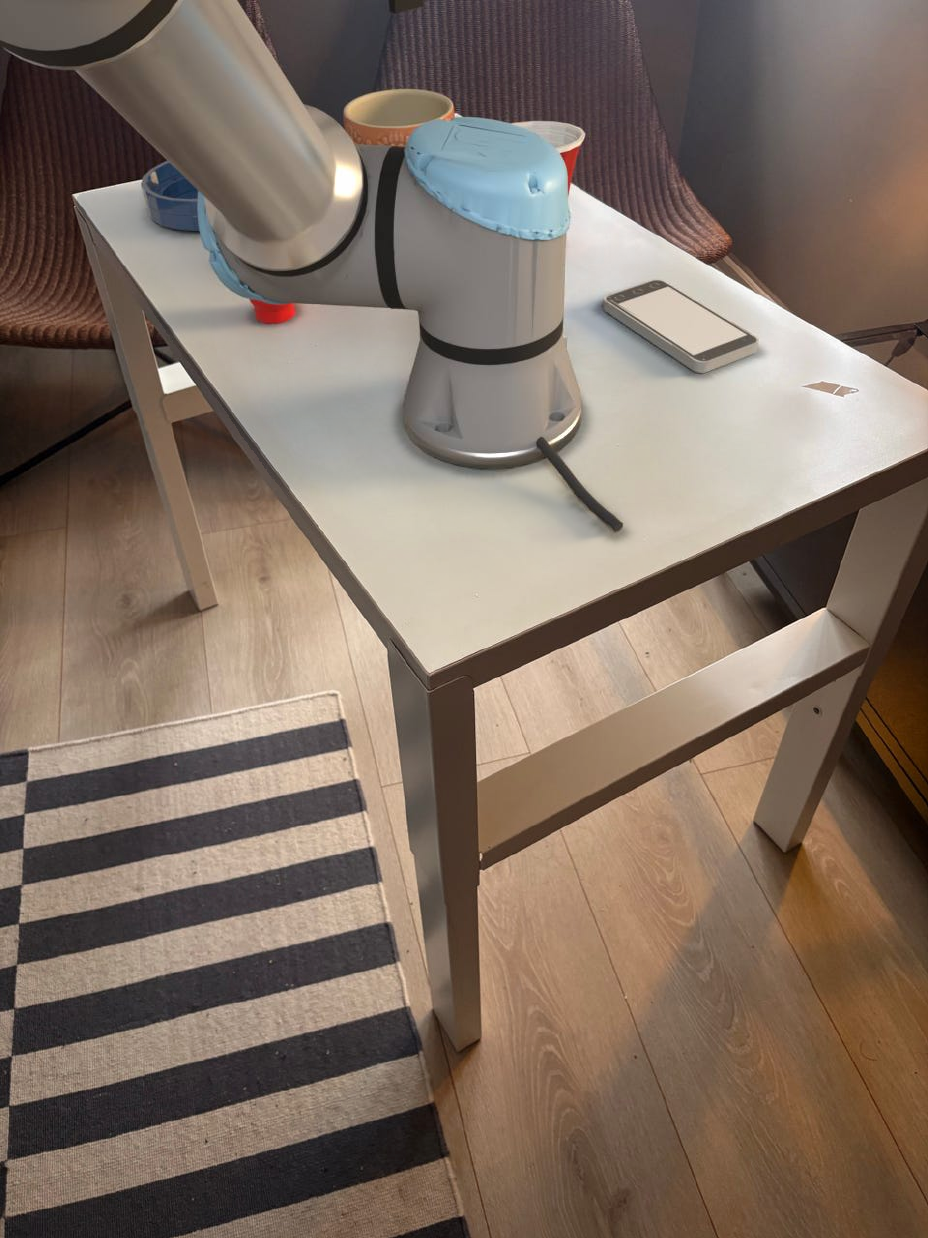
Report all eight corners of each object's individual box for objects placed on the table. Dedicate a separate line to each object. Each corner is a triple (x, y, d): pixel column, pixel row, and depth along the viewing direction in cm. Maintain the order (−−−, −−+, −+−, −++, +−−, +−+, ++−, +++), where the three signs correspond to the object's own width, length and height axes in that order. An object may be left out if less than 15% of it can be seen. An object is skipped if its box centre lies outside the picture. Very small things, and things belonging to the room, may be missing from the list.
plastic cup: (557, 218, 116) (561, 106, 107) (595, 257, 108) (602, 141, 100) (467, 234, 114) (464, 121, 105) (500, 275, 106) (499, 158, 98)
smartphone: (659, 277, 102) (762, 340, 93) (658, 287, 103) (760, 350, 94) (600, 297, 100) (700, 364, 90) (599, 307, 100) (699, 374, 91)
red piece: (299, 323, 100) (274, 169, 90) (251, 327, 100) (220, 173, 90) (299, 300, 104) (275, 149, 93) (252, 304, 104) (223, 153, 93)
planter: (339, 224, 116) (327, 124, 109) (370, 181, 125) (360, 85, 117) (444, 231, 114) (439, 130, 106) (467, 187, 123) (465, 90, 115)
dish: (269, 229, 116) (263, 195, 113) (144, 240, 115) (135, 205, 112) (271, 180, 126) (265, 147, 123) (156, 190, 125) (147, 156, 122)
